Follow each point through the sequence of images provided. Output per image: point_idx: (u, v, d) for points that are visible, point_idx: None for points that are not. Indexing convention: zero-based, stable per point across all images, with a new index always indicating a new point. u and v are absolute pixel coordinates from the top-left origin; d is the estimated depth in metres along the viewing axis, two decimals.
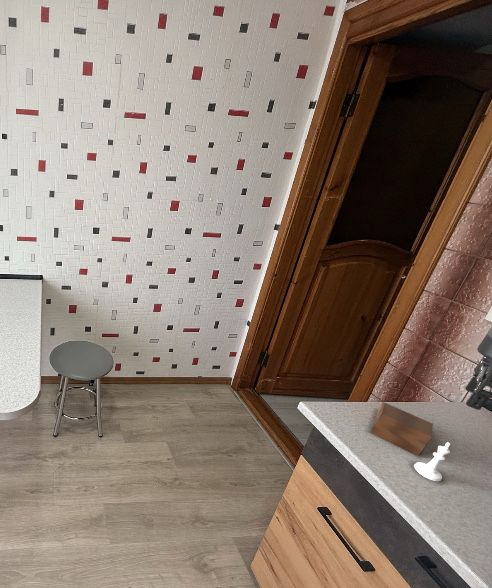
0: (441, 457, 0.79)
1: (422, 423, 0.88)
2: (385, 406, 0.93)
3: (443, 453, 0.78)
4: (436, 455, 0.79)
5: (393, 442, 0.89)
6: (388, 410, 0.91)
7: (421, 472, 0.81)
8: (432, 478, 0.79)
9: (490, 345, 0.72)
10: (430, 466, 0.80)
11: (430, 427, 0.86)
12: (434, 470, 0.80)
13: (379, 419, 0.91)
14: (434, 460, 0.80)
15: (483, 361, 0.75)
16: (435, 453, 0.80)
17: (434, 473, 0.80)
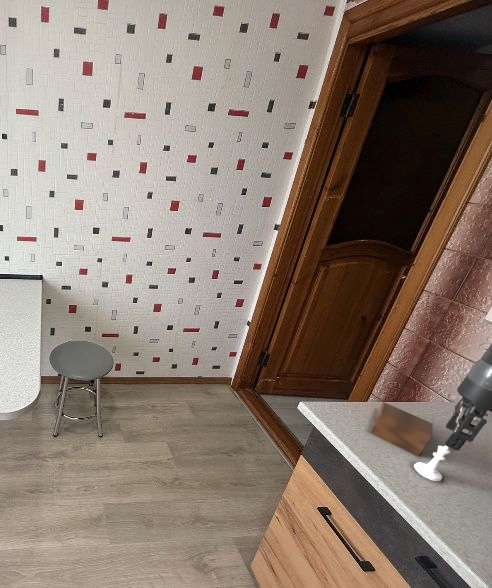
0: (441, 457, 0.79)
1: (422, 423, 0.88)
2: (385, 406, 0.93)
3: (443, 453, 0.78)
4: (436, 455, 0.79)
5: (393, 442, 0.89)
6: (388, 410, 0.91)
7: (421, 472, 0.81)
8: (432, 478, 0.79)
9: (469, 387, 0.72)
10: (430, 466, 0.80)
11: (430, 427, 0.86)
12: (434, 470, 0.80)
13: (379, 419, 0.91)
14: (434, 460, 0.80)
15: (463, 401, 0.75)
16: (435, 453, 0.80)
17: (434, 473, 0.80)
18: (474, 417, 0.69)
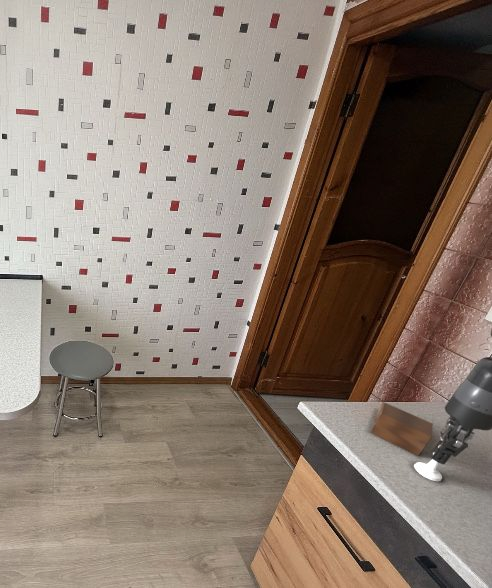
0: None
1: (422, 423, 0.88)
2: (385, 406, 0.93)
3: None
4: None
5: (393, 442, 0.89)
6: (388, 410, 0.91)
7: (421, 472, 0.81)
8: (432, 477, 0.79)
9: (456, 406, 0.74)
10: (430, 466, 0.80)
11: (430, 427, 0.86)
12: (434, 470, 0.80)
13: (379, 419, 0.91)
14: None
15: (451, 418, 0.77)
16: None
17: (434, 473, 0.80)
18: (455, 442, 0.72)
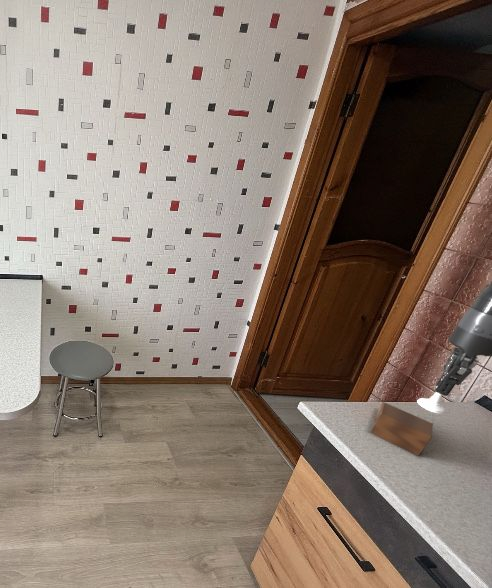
0: None
1: (422, 423, 0.88)
2: (385, 406, 0.93)
3: None
4: None
5: (393, 442, 0.89)
6: (388, 410, 0.91)
7: (424, 406, 0.82)
8: (435, 410, 0.81)
9: (460, 335, 0.75)
10: (433, 400, 0.82)
11: (430, 427, 0.86)
12: (437, 403, 0.81)
13: (379, 419, 0.91)
14: (437, 393, 0.81)
15: (454, 350, 0.78)
16: None
17: (437, 406, 0.81)
18: (459, 369, 0.73)
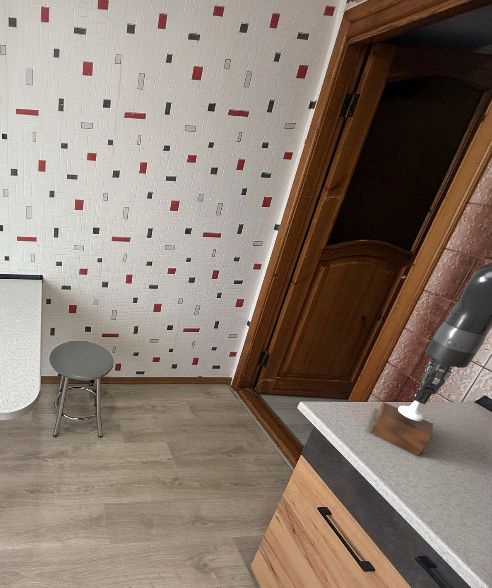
0: None
1: (422, 423, 0.88)
2: (385, 406, 0.93)
3: None
4: None
5: (393, 442, 0.89)
6: (388, 410, 0.91)
7: (404, 413, 0.87)
8: (414, 417, 0.86)
9: (434, 348, 0.80)
10: (412, 407, 0.87)
11: (430, 427, 0.86)
12: (416, 411, 0.87)
13: (379, 419, 0.91)
14: (416, 401, 0.86)
15: (431, 361, 0.84)
16: None
17: (416, 413, 0.87)
18: (434, 379, 0.79)
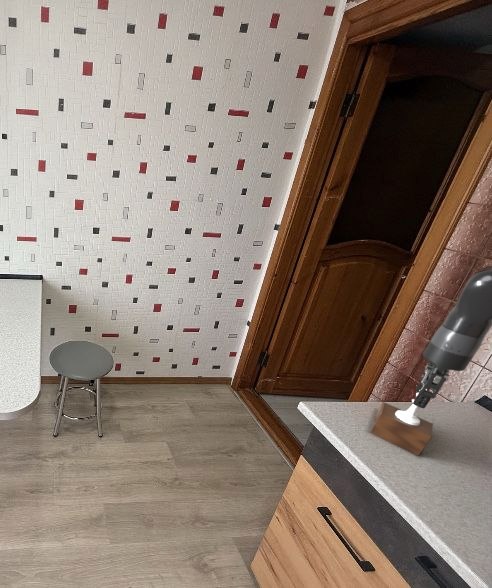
0: None
1: (422, 423, 0.88)
2: (385, 406, 0.93)
3: None
4: None
5: (393, 442, 0.89)
6: (388, 410, 0.91)
7: (401, 418, 0.88)
8: (411, 422, 0.87)
9: (432, 351, 0.81)
10: (409, 412, 0.88)
11: (430, 427, 0.86)
12: (413, 415, 0.87)
13: (379, 419, 0.91)
14: (413, 406, 0.87)
15: (428, 365, 0.84)
16: None
17: (413, 418, 0.87)
18: (435, 376, 0.78)
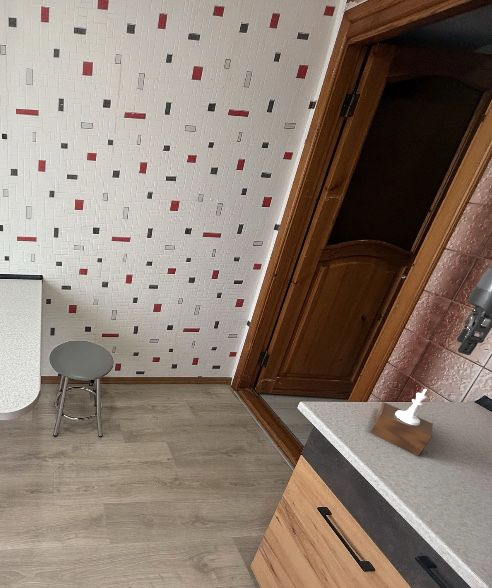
0: (419, 403, 0.86)
1: (422, 423, 0.88)
2: (385, 406, 0.93)
3: (421, 399, 0.85)
4: (414, 401, 0.86)
5: (393, 442, 0.89)
6: (388, 410, 0.91)
7: (401, 418, 0.88)
8: (411, 422, 0.87)
9: (479, 295, 0.78)
10: (409, 412, 0.88)
11: (430, 427, 0.86)
12: (413, 415, 0.87)
13: (379, 419, 0.91)
14: (413, 406, 0.87)
15: (473, 311, 0.82)
16: (414, 400, 0.87)
17: (413, 418, 0.87)
18: (484, 319, 0.76)
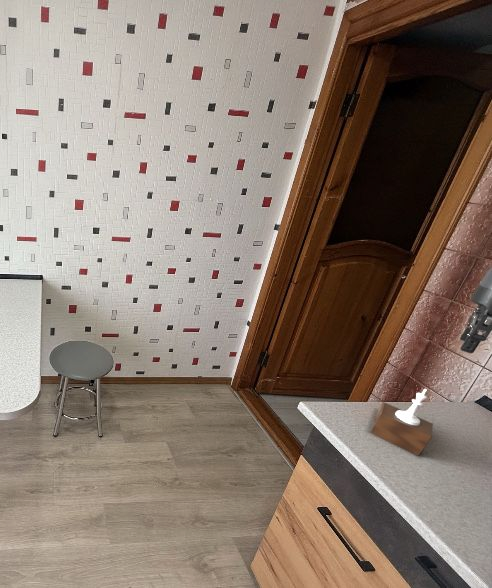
0: (419, 403, 0.86)
1: (422, 423, 0.88)
2: (385, 406, 0.93)
3: (421, 399, 0.85)
4: (414, 401, 0.86)
5: (393, 442, 0.89)
6: (388, 410, 0.91)
7: (401, 418, 0.88)
8: (411, 422, 0.87)
9: (482, 293, 0.79)
10: (409, 412, 0.88)
11: (430, 427, 0.86)
12: (413, 415, 0.87)
13: (379, 419, 0.91)
14: (413, 406, 0.87)
15: (476, 310, 0.82)
16: (414, 400, 0.87)
17: (413, 418, 0.87)
18: (487, 317, 0.76)
